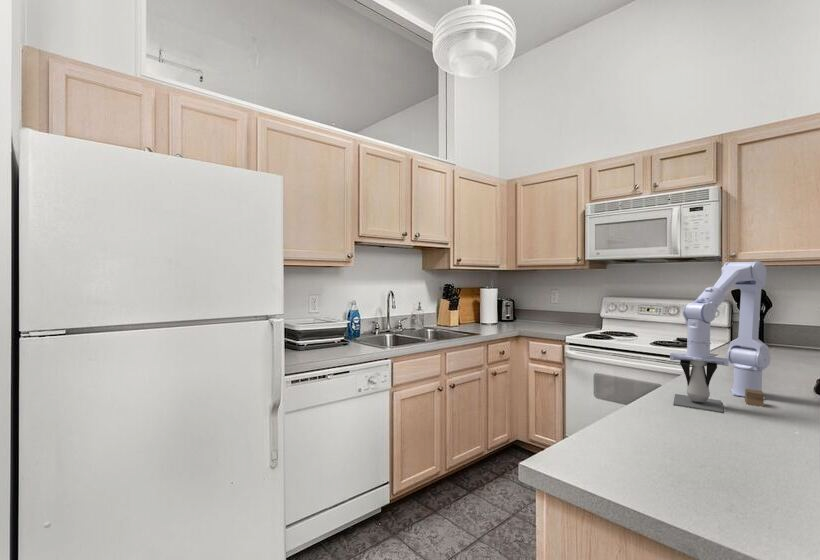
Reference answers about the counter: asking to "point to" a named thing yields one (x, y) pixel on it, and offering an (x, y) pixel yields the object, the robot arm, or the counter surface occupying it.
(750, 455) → the counter surface
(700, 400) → the salt shaker
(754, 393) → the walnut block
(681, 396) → the rubber mat
